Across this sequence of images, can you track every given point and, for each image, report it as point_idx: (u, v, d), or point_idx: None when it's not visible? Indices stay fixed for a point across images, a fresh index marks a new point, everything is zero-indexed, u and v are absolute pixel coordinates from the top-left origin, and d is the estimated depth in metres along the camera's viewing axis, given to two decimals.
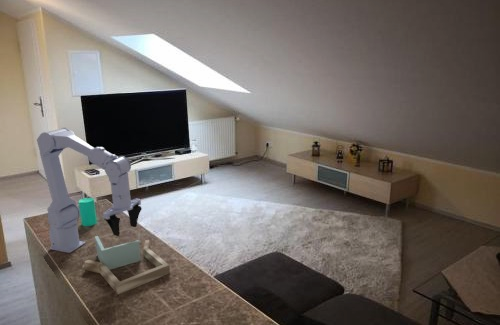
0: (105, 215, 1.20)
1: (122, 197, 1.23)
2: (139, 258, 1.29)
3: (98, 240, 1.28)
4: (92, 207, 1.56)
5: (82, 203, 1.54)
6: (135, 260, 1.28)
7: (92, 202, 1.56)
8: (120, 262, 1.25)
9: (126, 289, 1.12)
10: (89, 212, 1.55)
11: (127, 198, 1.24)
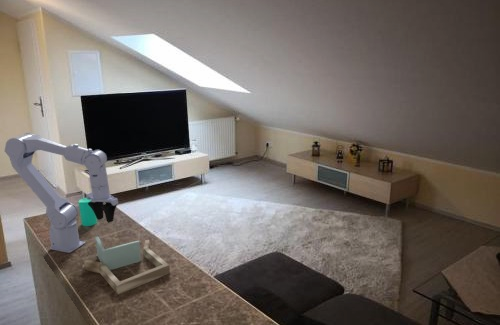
0: None
1: (91, 187, 1.32)
2: (139, 259, 1.28)
3: (98, 240, 1.28)
4: None
5: (82, 203, 1.54)
6: (135, 261, 1.28)
7: None
8: (120, 263, 1.25)
9: (126, 289, 1.12)
10: (89, 212, 1.55)
11: (93, 190, 1.31)
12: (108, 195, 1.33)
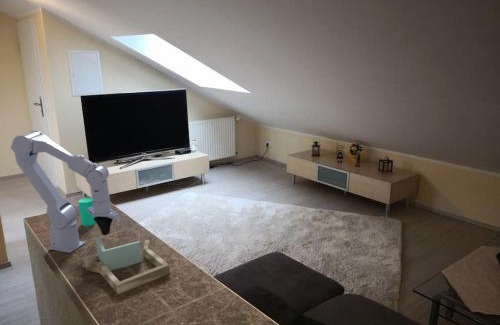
0: None
1: None
2: (140, 259, 1.28)
3: (99, 241, 1.27)
4: None
5: (82, 203, 1.54)
6: (136, 261, 1.27)
7: (92, 202, 1.56)
8: (120, 264, 1.24)
9: (126, 289, 1.12)
10: None
11: (94, 205, 1.32)
12: (109, 210, 1.35)
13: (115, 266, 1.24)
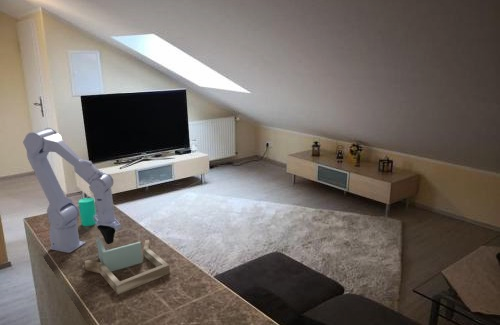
0: None
1: (96, 210, 1.32)
2: (141, 260, 1.27)
3: (99, 242, 1.27)
4: (92, 207, 1.56)
5: (82, 203, 1.54)
6: (137, 262, 1.27)
7: (92, 202, 1.56)
8: (121, 264, 1.24)
9: (126, 289, 1.12)
10: (89, 212, 1.55)
11: (97, 214, 1.31)
12: (112, 219, 1.33)
13: (116, 267, 1.23)
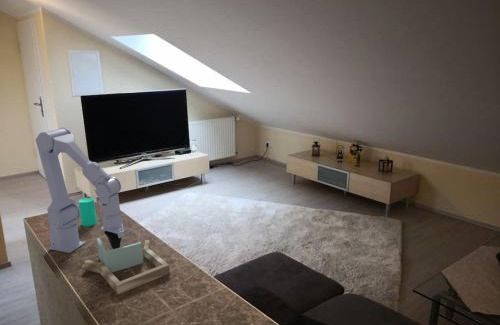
0: None
1: None
2: (142, 260, 1.27)
3: (100, 242, 1.26)
4: (92, 207, 1.56)
5: (82, 203, 1.54)
6: (137, 262, 1.26)
7: (92, 202, 1.56)
8: (122, 265, 1.23)
9: (126, 289, 1.12)
10: (89, 212, 1.55)
11: (103, 219, 1.27)
12: (118, 225, 1.28)
13: (116, 267, 1.23)
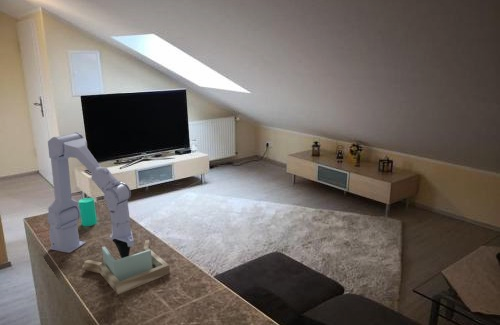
0: None
1: None
2: (151, 268, 1.22)
3: (106, 251, 1.20)
4: (92, 207, 1.56)
5: (82, 203, 1.54)
6: None
7: (92, 202, 1.56)
8: (131, 274, 1.18)
9: (126, 289, 1.12)
10: (89, 212, 1.55)
11: (112, 226, 1.21)
12: (127, 233, 1.22)
13: (125, 277, 1.17)
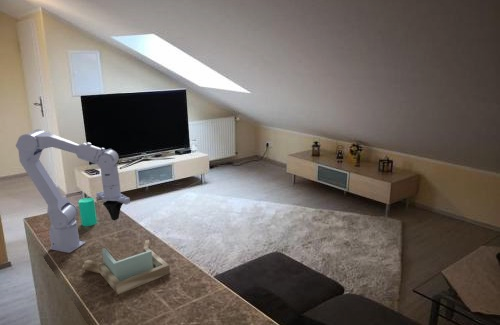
0: None
1: None
2: None
3: (107, 252, 1.20)
4: (92, 207, 1.56)
5: (82, 203, 1.54)
6: None
7: (92, 202, 1.56)
8: (132, 275, 1.18)
9: (126, 289, 1.12)
10: (89, 212, 1.55)
11: (105, 189, 1.32)
12: (119, 194, 1.34)
13: (126, 278, 1.17)
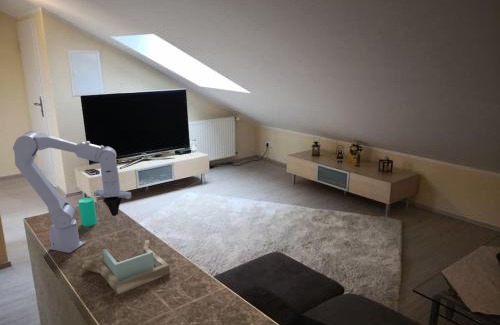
0: None
1: (103, 183, 1.36)
2: None
3: (108, 253, 1.19)
4: (92, 207, 1.56)
5: (82, 203, 1.54)
6: None
7: (92, 202, 1.56)
8: None
9: (126, 289, 1.12)
10: (89, 212, 1.55)
11: (106, 186, 1.35)
12: (119, 190, 1.39)
13: None
